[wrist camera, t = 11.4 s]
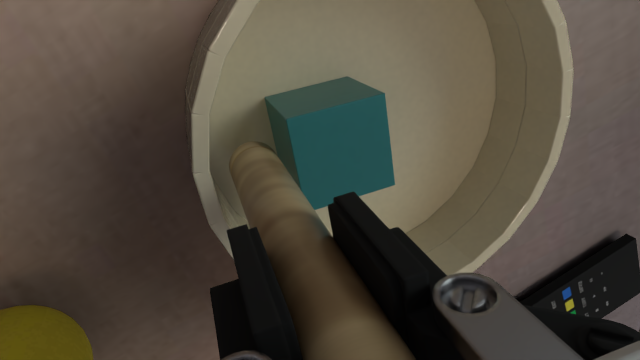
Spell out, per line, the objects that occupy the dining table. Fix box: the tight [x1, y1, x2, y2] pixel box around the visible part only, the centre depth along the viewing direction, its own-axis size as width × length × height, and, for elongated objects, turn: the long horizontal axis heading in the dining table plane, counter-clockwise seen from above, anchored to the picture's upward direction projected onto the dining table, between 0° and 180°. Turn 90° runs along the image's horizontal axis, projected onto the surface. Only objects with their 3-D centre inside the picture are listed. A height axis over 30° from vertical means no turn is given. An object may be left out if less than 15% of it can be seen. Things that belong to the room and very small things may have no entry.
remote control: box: [520, 234, 640, 319], centre depth 31 cm, size 5×24×1 cm, turn 115°
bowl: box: [185, 0, 574, 276], centre depth 20 cm, size 16×16×5 cm
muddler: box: [229, 141, 416, 360], centre depth 13 cm, size 2×2×13 cm
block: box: [264, 76, 395, 210], centre depth 20 cm, size 4×4×4 cm
